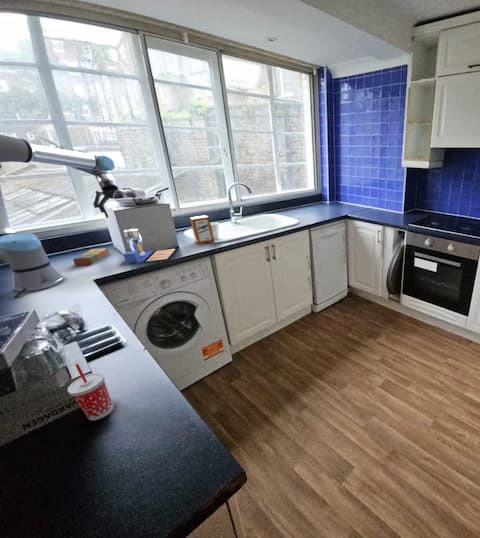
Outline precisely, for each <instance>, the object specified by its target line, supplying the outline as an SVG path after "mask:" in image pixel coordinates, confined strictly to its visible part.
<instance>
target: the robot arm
mask: <svg viewBox="0 0 480 538" xmlns="http://www.w3.org/2000/svg"><path fill="white" fill-rule="evenodd" d="M31 162H36V163H41V164H49V165H55V166H56V165H57V166H65V167H70V168H73V169H75V170H77V171H81V172H82V173H83V172H84V173H86V174H89V175H92V176H94V178H95V179H96V181H97V184H98V185H99V187H100V189H101V191H98V190H96V191H95V197H94V201H93V208H94V209H97V208H98V209H99V211H100V212H101V213H104V216H105V217H106V219H108V218H109V215H108V212H107V210H106V207H105V204H106V202H108V201H109V200H110V199H111V200H112V199H114V198H113V193H114V192H115V191H117V190H121V189H120V188H119V187H118V184H117V183H116V180H115V179H114V177H113V175H112V173H111V171H113V170H114V169H115V167H116V163H115V161H114V159H113V158H112V157H110V156H108V155H104V154H103V155H98V154H90V153H86V152H80V151H75V150H69V149H65V148H59V147H53V146H49V145H42V144H39V143H38V144H37V143H32V142H29V141H28V140H27V139H24V138H19V137H14V136H9V135H4V134H0V171H1V170H2V163H25V164H28V163H31ZM125 189H126V190H127V188H126V187H124V188H123V189H122V190H125ZM101 196H103V197H102V199H101ZM0 264H8V265H9V267H10V269H11V270H12V272H13V274H14V275H13V276H14V277H13V278H14V289H15V290H16V292H17V293H16V294H15V295H13V298H15V299H16V298H18V297H19V296H21V294H23V293H30V292H37V291H40V290H41V291H42V290H45V289H49V288H51V287H54V286H56V285H59V284H61V283H62V282H63V281H64V277H63V275H62V274H61V273H60V272H59V271H58V270H57V269H56V268H54V266H53V265H52V264H51V261H50V260H49V257H48V255H47V253H46V251H45V249H44V247H43V245H42V242H41V240H40V239H39V237H38V236H37V235H36V234H34V233H28V232H20V233H19V232H18V233H17V230H14V229H12V228H11V224H10V220H9V217H8V212H7V208H6V204H5V199H4V195H3V191H2V187H1V185H0Z"/></svg>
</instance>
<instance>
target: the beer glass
mask: <svg viewBox="0 0 480 538" xmlns="http://www.w3.org/2000/svg"><path fill="white" fill-rule="evenodd" d="M123 235H124V239H125V241H126V243H127V245H128V247H129V248H130V251H137V250H138V252H139V255H140V257H143V256H145V255H146V253H145V252H146V251H145V250H144V244H143V238H142V235H141V232H140V230H139V228H128V229H125V230H123Z"/></svg>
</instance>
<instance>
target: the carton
mask: <svg viewBox="0 0 480 538" xmlns="http://www.w3.org/2000/svg"><path fill="white" fill-rule="evenodd" d="M109 255H110V251H109V248H107V247H105V248H103V247H102V248H91V249H89V250H87V251H85V252H83V253H82V254H80V255H78V256H76V257H74V258H73V259H72V261H73V263H74V266H75V267H80V266H81V267H82V266H92V265H94V264H95V263H97V262H99V261H100V260H102V259H103V258H105V257H107V256H109Z"/></svg>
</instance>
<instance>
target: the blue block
mask: <svg viewBox="0 0 480 538" xmlns="http://www.w3.org/2000/svg"><path fill="white" fill-rule="evenodd" d="M122 256H123V258H124V261H126V264H133V263H134V262H135V263H139V262H138V261H139V260H140V259H141V258H140V255H139V252H138V250H137V251H132V250H128V251H126V252H125V253H123V254H122Z"/></svg>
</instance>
